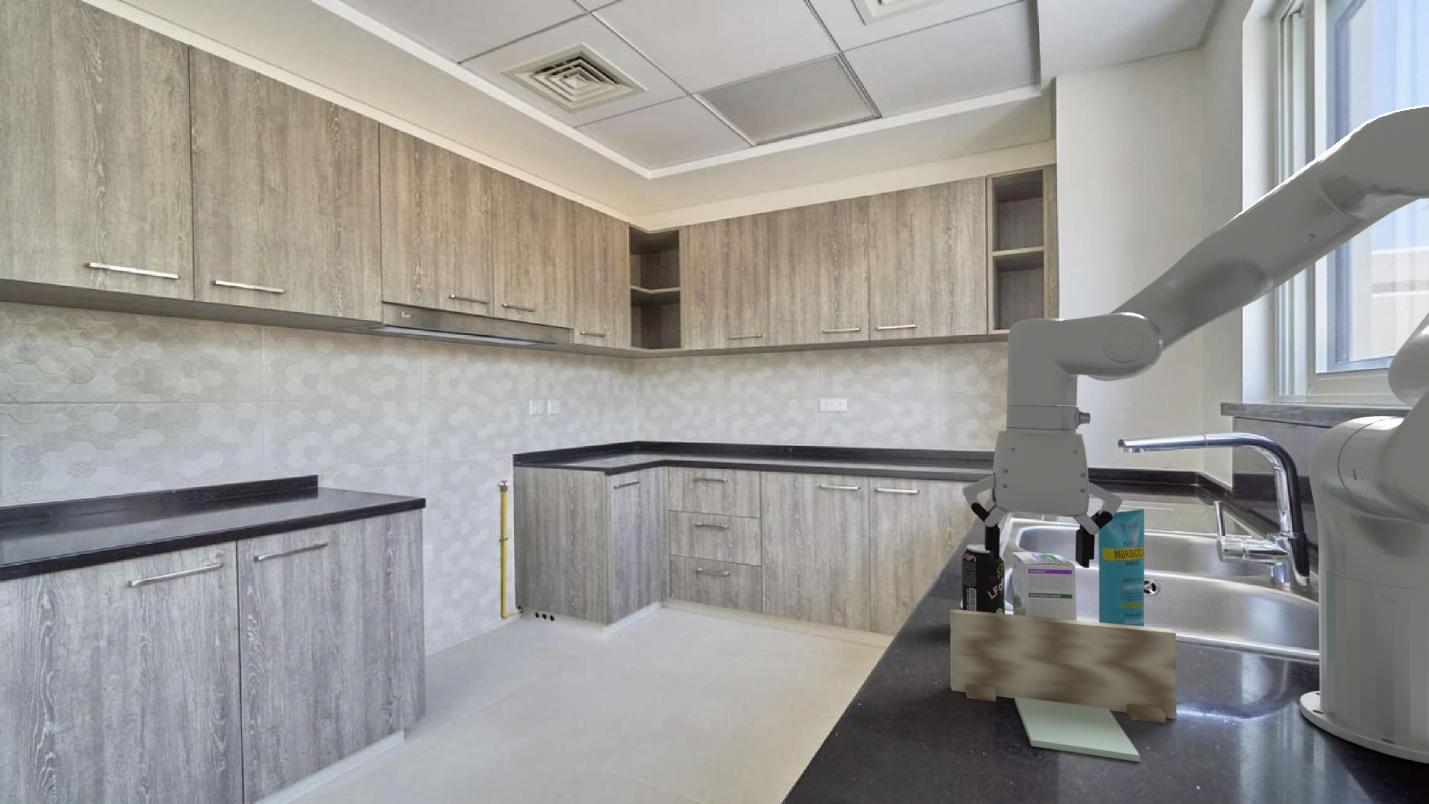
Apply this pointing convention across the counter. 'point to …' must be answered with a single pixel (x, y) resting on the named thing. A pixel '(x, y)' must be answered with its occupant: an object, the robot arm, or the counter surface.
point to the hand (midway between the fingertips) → (1037, 561)
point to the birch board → (1065, 662)
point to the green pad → (1074, 729)
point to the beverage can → (982, 581)
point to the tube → (1122, 569)
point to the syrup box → (1043, 585)
